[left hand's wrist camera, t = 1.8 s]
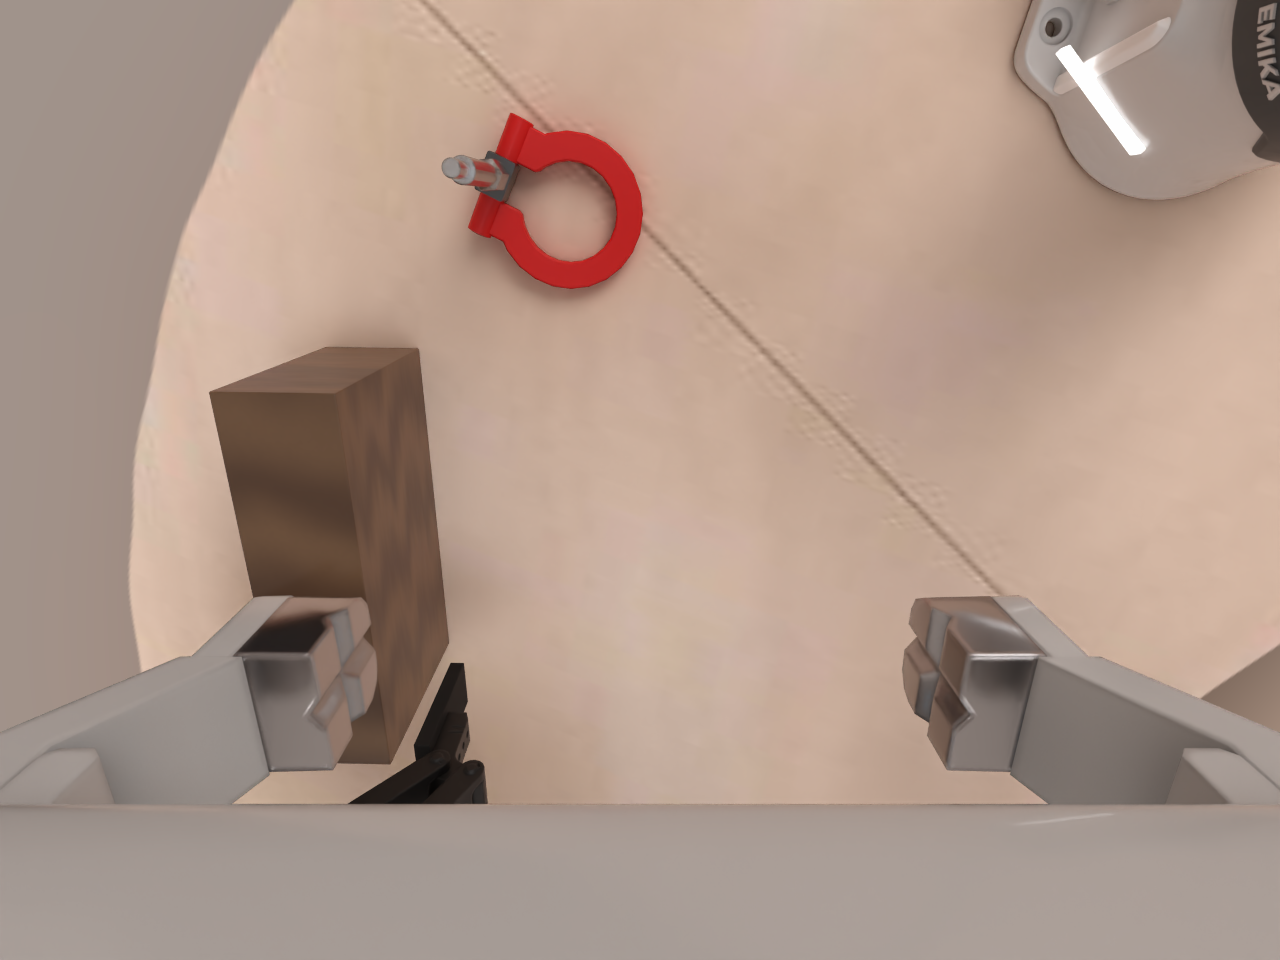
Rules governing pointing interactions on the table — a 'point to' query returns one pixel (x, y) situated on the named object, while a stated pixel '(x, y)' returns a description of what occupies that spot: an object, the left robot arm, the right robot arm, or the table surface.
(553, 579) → the table surface
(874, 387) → the table surface
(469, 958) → the left robot arm
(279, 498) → the box
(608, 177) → the tow hook
